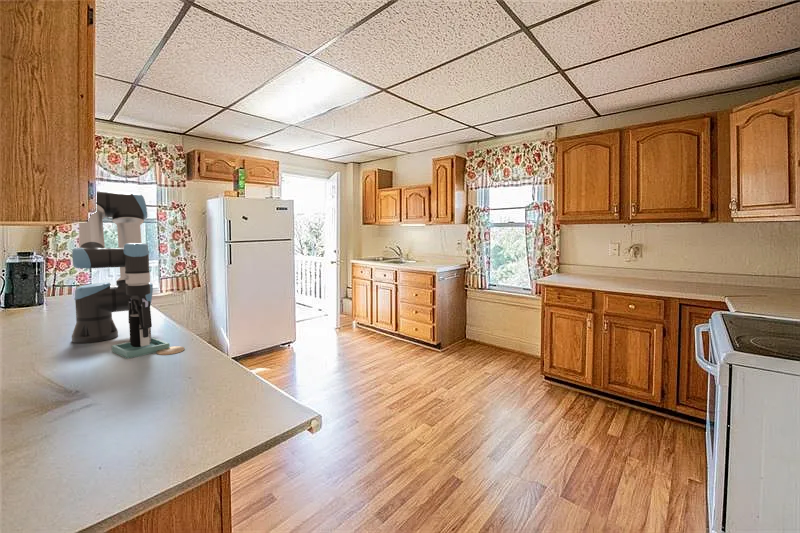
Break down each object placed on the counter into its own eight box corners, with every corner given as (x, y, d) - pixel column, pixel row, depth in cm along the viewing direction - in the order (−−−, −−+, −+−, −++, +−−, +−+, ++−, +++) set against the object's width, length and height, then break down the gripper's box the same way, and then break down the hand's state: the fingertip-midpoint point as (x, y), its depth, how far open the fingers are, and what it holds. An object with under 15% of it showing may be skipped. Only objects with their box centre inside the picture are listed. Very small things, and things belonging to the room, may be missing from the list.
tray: (111, 351, 138) (111, 345, 138) (153, 343, 150) (153, 337, 150) (127, 358, 131) (127, 352, 130) (169, 349, 142) (169, 343, 142)
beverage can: (132, 343, 142) (131, 313, 141) (152, 341, 145) (151, 311, 144) (128, 348, 136) (126, 316, 135) (149, 346, 139) (148, 315, 138)
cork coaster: (152, 351, 139) (152, 350, 138) (177, 346, 146) (177, 345, 146) (163, 356, 134) (163, 355, 133) (188, 350, 141) (188, 349, 141)
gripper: (115, 283, 141) (118, 341, 143) (137, 287, 130) (140, 351, 132) (138, 281, 147) (141, 337, 149) (161, 285, 136) (163, 346, 138)
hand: (140, 343), depth 140 cm, fingers closed on beverage can, 7 cm apart
